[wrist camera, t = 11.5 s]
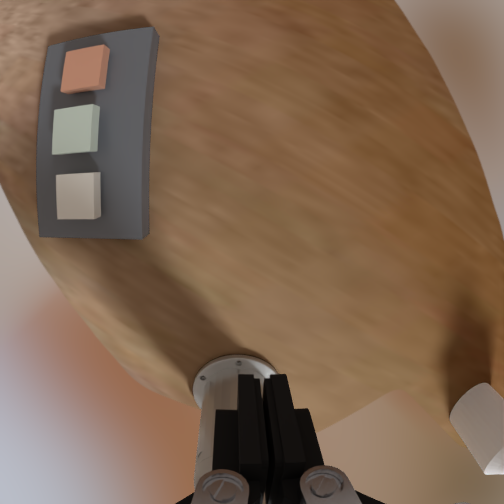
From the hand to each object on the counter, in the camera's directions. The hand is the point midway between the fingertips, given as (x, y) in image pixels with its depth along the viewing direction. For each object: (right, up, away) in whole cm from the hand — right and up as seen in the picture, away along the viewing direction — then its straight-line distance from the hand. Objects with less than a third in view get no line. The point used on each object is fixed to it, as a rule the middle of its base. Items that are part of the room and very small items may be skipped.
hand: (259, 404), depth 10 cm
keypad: (-19, +19, +22) cm, 35 cm away
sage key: (-18, +18, +18) cm, 31 cm away
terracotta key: (-18, +25, +17) cm, 35 cm away
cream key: (-19, +12, +20) cm, 30 cm away
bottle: (+45, -26, +38) cm, 64 cm away
